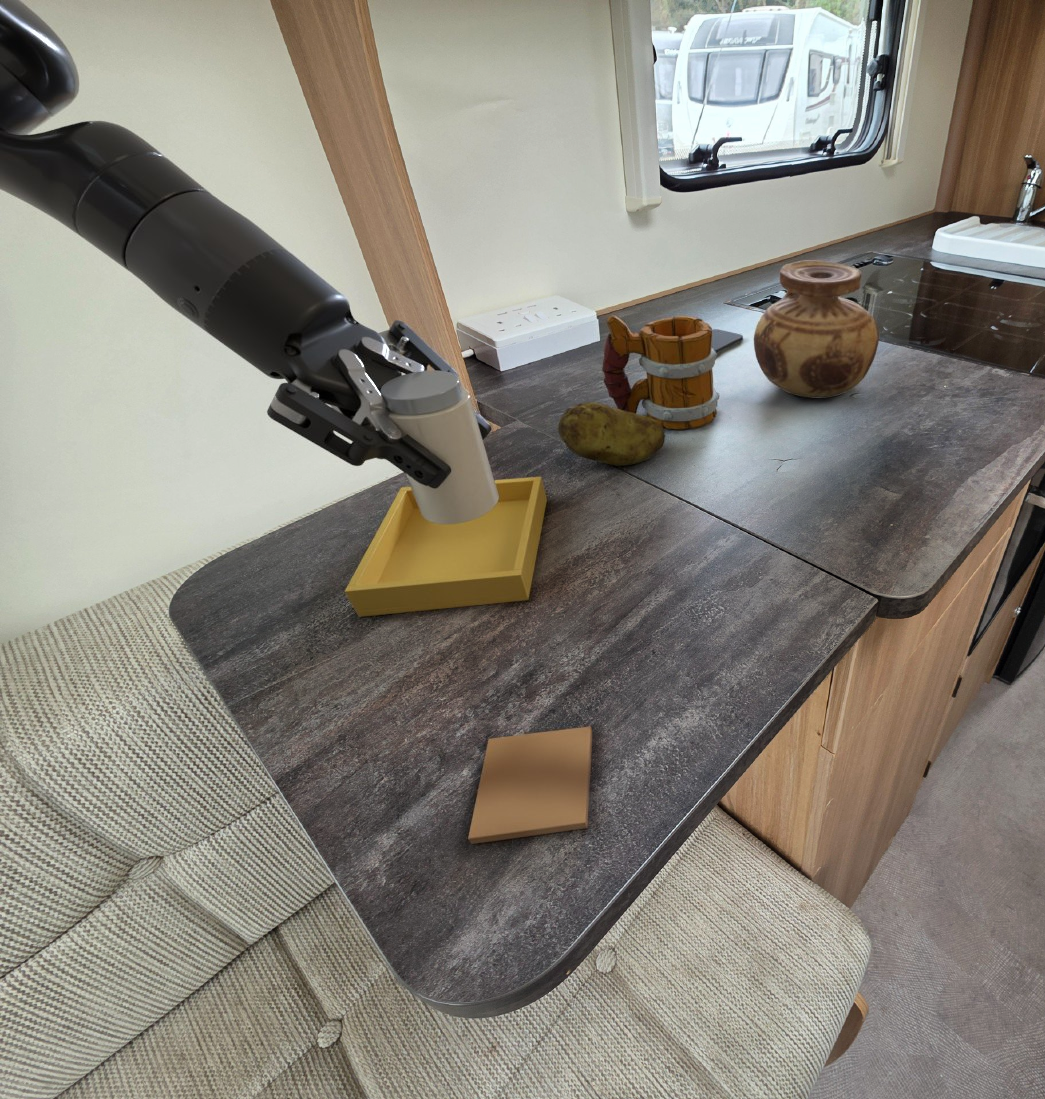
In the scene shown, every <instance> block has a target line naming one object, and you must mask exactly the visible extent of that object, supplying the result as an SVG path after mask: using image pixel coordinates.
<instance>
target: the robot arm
mask: <svg viewBox="0 0 1045 1099" xmlns="http://www.w3.org/2000/svg"><path fill="white" fill-rule="evenodd" d="M79 76H80V75H79V72H78V68H77V65H76V62H75V60H74V58H73V56H72V54H71V52H70V50H69V49H68V47H67V45H66V44H65V43H64V41H63V40H62V38H60V37H59V36H58V34H57V33H56V32H55V31H54V29H53V28H51V26H50V25H48V24H47V23H46V21H44V19H43V18H41V17H40V16H39V15H38V14H37V13H36V12H35V11H33V10H32V9H31V8H30V7H28V6H27V5H26V4H25V3H24V2H22V1H21V0H0V190H1V191H3V192H5V193H7V194H9V195H11V196H12V197H15V198H17V199H19V200H21V201H23V202H25V203H27V204H29V206H32V207H34V208H36V209H38V210H39V211H40V212H43V213H44V214H46V215H47V216H49V217H51V218H53V219H54V220H56V221H57V222H59V223H61V224H62V225H63V226H65V227H66V228H68V229H70V230H71V231H72V232H74V233H75V234H76V235H78V236H79V237H81V238H83V239H84V240H85V241H87V242H88V243H89V244H91V245H92V246H93V247H95V248H96V249H98V250H99V251H100V252H102V253H103V254H104V255H105V256H107V257H109V258H110V259H111V260H113V261H114V262H115V263H117V264H118V265H120V266H121V267H123V268H124V269H125V270H127V271H128V272H130V273H131V274H132V275H133V276H135V277H136V278H137V279H138V280H140V281H141V282H142V283H143V284H144V285H146V286H147V287H148V288H149V289H150V290H151V291H152V292H153V293H154V294H156V295H157V297H159V298H160V299H161V300H162V301H163V302H165V303H166V304H167V305H168V306H170V307H171V308H173V310H175V311H177V312H178V313H179V314H181V316H184V317H185V318H186V319H187V320H188V321H190V322H192V323H193V324H195V325H196V326H198V328H200V329H202V330H203V331H204V332H206V333H207V334H208V335H210V336H211V337H212V338H214V339H215V340H217V341H218V342H219V343H221V344H222V345H224V346H225V347H226V348H228V349H229V350H231V351H232V352H233V353H235V354H236V355H238V356H239V357H240V358H242V359H243V360H245V361H246V362H247V363H249V364H250V365H251V366H253V367H254V368H255V369H257V370H258V371H260V372H261V373H263V374H264V375H265V376H267V377H269V378H270V379H274V380H285V381H286V382H282V383H280V384H279V386H278V388H277V390H276V392H275V394H274V396H273V398H272V399H271V402H270V404H269V405H268V408H267V410H266V414H267V416H268V417H269V418H270V419H271V420H272V421H275V422H277V423H279V424H280V425H282V426H283V427H285V428H287V429H288V430H290V431H292V432H294V433H295V434H297V435H299V436H300V437H302V438H304V439H306V440H308V441H309V442H311V443H313V444H314V445H317V446H318V447H320V448H322V449H323V450H324V451H327V452H328V453H330V454H332V455H333V456H335V457H336V458H339V459H340V460H342V461H344V462H345V463H348V464H349V465H351V466H354V467H360V466H362V465H363V464H364V463H365V462H366V461H370V460H373V459H377V460H385V461H387V462H389V463H391V465H393V466H395V467H396V468H397V469H399V470H400V471H401V472H403V473H404V474H405V473H406V474H407V475H408V476H410V477H412V478H413V479H414V480H415V481H417V482H418V483H420V484H422V485H425V486H429V487H431V488H434V489H436V488H438V487H439V486H440V485H441V484H442V483H443V482H444V481H445V479H446V478H447V477H448V476H449V474H450V473H451V467H450V466H449V465H448V464H447V463H445V462H444V461H443V460H441V459H440V458H438V457H437V456H436V455H434V454H433V453H432V452H430V451H429V450H428V449H426V448H425V447H424V446H422V445H421V444H420V443H418V442H417V441H416V440H414V439H413V438H412V437H410V436H409V435H408V434H407V435H406V436H405V437H404V438H402V437H401V436H402V433H401V431H400V429H399V428H398V427H397V425H396V424H395V422H394V421H393V420H392V419H391V418H390V417H389V414H388V412H387V404H386V401H385V399H384V398H383V397H382V395H381V392H380V390H381V387H382V386H383V385H384V384H385V383H387V382H388V381H390V380H392V379H394V378H396V377H399V376H402V375H405V374H409V373H414V372H420V371H429V370H428V366H429V367H431V368H432V369H433V371H446V372H451V373H453V374H455V375H457V376H458V377H459V373H458V372H457V371H456V370H455V369H454V368H453V367H452V366H451V365H450V364H449V363H448V362H447V361H446V360H445V359H444V358H443V357H441V355H440V354H438V353H437V352H436V351H435V349H433V348H432V347H431V346H430V345H429V344H428V343H427V341H425V340H424V339H423V338H422V337H420V336H419V335H418V334H417V333H416V332H415V331H414V329H412V328H411V327H410V326H409V325H408V324H407V323H406V322H404V321H401V320H399V319H398V320H397V319H396V320H394V321H393V323H392V324H391V326H390V327H389V329H387V330H383V331H381V332H377V331H376V330H374V329H372V328H369V327H367V326H365V325H363V324H362V323H360V322H359V321H357V320H356V319H355V317H354V315H353V314H352V311H351V305H350V302H349V300H348V299H347V297H346V296H345V295H344V294H342V292H340V291H338V290H337V289H336V288H335V287H333V285H331V284H330V283H329V282H327V281H326V280H325V279H323V277H321V276H320V275H319V274H318V273H316V272H315V271H314V270H313V269H311V268H310V267H309V266H308V265H307V264H305V262H303V261H301V259H299V258H298V257H297V256H296V255H295V254H293V253H292V252H290V251H289V250H288V249H287V248H285V247H284V246H283V245H282V244H280V243H279V241H277V240H276V239H274V238H273V237H272V236H270V234H268V233H267V232H265V231H264V230H263V229H262V228H261V227H260V226H258V225H257V224H255V222H253V221H252V220H250V219H249V218H248V217H246V216H245V215H244V214H242V213H241V212H238V211H237V210H235V209H233V208H232V207H230V206H229V205H227V204H226V203H225V202H224V201H222V200H220V199H219V198H218V197H216V196H215V195H213V194H212V193H211V192H210V191H209V190H208V189H206V188H205V187H204V186H203V185H201V184H200V183H199V182H198V181H196V180H195V179H194V178H192V177H191V176H190V175H189V174H188V173H186V172H185V171H184V170H183V169H182V168H180V167H179V166H178V165H177V164H175V163H174V162H173V161H172V160H170V159H169V158H168V157H166V156H165V155H164V154H163V153H161V151H160V150H158V149H157V148H155V147H154V146H153V145H152V144H150V143H149V142H147V141H146V140H145V139H144V138H142V137H141V136H139V135H138V134H136V133H135V132H133V131H132V130H130V129H128V128H126V127H125V126H122V125H120V124H117V123H114V122H110V121H105V120H86V121H85V120H84V121H80V122H76V123H72V124H68V125H65V126H61V127H57V128H54V129H50V130H47V131H43V132H37V133H33V131H35V130H37V129H38V128H39V127H41V126H42V125H44V124H45V123H46V122H48V121H49V120H50V119H52V118H53V117H55V116H56V115H58V114H59V113H60V112H62V111H63V110H65V109H66V108H68V107H69V106H70V105H72V103H73V102H74V101H75V100H76V98H77V97H78V94H79V92H80V77H79ZM31 133H33V134H31ZM474 411H475V415H476V418H477V422H478V425H479V429H480V432H481V436H482V439H483V441H485V439H486V438H487V436H488V435H489V434H490V433H491V432H492V426H491V424H490V423H488V421H487V420H486V418H485V417H484V416H482V415H481V414H480V413H479V412H477V411H476V410H475V409H474ZM335 432H336V433H338V434H339V435H341V436H343V437H344V438H346V439H348V440H349V441H351V443H350V442H349V441H347V440H346V439H343V438H342V437H340V436H338V435H337V434H336V433H335ZM406 474H405V475H406Z"/></svg>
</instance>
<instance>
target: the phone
mask: <svg viewBox="0 0 1045 1099" xmlns="http://www.w3.org/2000/svg"><path fill="white" fill-rule="evenodd" d="M743 340H744V336H743V334H740V333H736V332H731V331H728V330H723V329H719V328H712V348H713V349H714V351H715V352H716V354H718V353H720V352H722V351H725V350H726V349H728V348H731V347H732V346H734V345H737V344H738V343H740V342H742V341H743Z"/></svg>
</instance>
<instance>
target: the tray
mask: <svg viewBox="0 0 1045 1099" xmlns="http://www.w3.org/2000/svg"><path fill="white" fill-rule="evenodd" d="M494 481H495V484H496V487H497V491H498V495H499V498H498V502H497V504H496V505H495V506H494V508H493V509H491V510H490V511H489V512H488V513H486V514H484V515H483V516H481V517H479V518H476V519H474V520H471V521H467V522H463V523H458V524H437V523H433V522H430V521H428V520H426V519H425V518H424V517H423V516H422V514H421V512H420V509H419V507H418V504H417V502H416V499H415V497H414V494H413V491H412V489H411V486H403V487H400V488H399V491H398V492H397V494H396V496H395V498H394V499H393V501H392V502H391V503H392V504H391V505H390V507H389V509H388V511H387V513H386V515H385V516H384V518H383V520H382V522H381V524H380V525H379V527H378V530H377V531H376V533H375V535H374V536H373V538H372V540H371V542H370V544H369V545H368V547H367V550H366V551H365V553H364V555H363V556H362V558H361V560H360V563H359V564H358V566H357V567H356V570H355V572H354V573H353V575H352V577H351V579H350V581H349V583H348V584H347V586H346V587H345V589H344V594H345V595H346V597H347V599H348V601H349V602H350V604H351V606H352V608H353V610H354V611H355V612H356V615H357V617H359V618H361V617H371V616H372V617H373V616H381V615H382V616H383V615H392V614H402V613H403V614H404V613H413V612H422V611H431V610H432V611H433V610H441V609H442V610H443V609H452V608H453V609H454V608H463V607H473V606H480V605H481V606H483V605H493V604H502V603H503V604H504V603H513V602H523V601H529V599H530V593H531V588H532V582H533V577H534V572H535V566H536V561H537V555H538V551H539V544H540V540H541V534H542V528H543V524H544V519H545V518H544V517H545V513H546V507H547V501H548V498H547V494H546V490H545V485H544V482H543V478H542V476H531V477H530V476H529V477H519V478H516V477H515V478H505V479H504V478H503V479H494Z"/></svg>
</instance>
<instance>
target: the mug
mask: <svg viewBox="0 0 1045 1099" xmlns="http://www.w3.org/2000/svg"><path fill="white" fill-rule="evenodd" d="M606 323H607V327H608V329H609V332H610V333H607V334H608V335H607V338H606V341H605V344H604V350H603V360H602V367H601V371H602V373H603V376H604V378H603V383H604V385H605V387H606V389H607V392H608V396H609V398H611V399H613V402H614V404H615V405H616V407H617V409H620V410H623V411H627V412H631V413H635V414H637V413H638V407H639V404H640V403H641V405H642V407H643V408H644V409H645V411H646V417H649V418H652V419H654V420H656V421H657V422H659V423H660V424H661V426H662V427H663V428H665V429H667V430H682V431H683V430H687V429H691V430H692V429H693V430H695V429H698V428H699V429H700V428H702V427H705V426H707V425H708V424H710V423H712V421H714V418H716V417H717V407H718V404H719V399H720V393H719V392H718V391H717V390H716V388H715V387H714V373H713V368H714V366H715V364H716V359H717V356H718V355H717V354H718V353H717V354H716V352H715V351H714V349H713V348H712V330H713V328H712V326H711V325H710V324H709V323H708V322H706V321H703V319H702V318H699V317H695V316H688V315H676V316H673V317H665V318H661V319H656V320H653V321H650V322H648V323H646V324H645V325H644V326H643V327H641V328H640V330H639V331H640V332H631V330H630V328H629V326H628V325H627V323H625V321H623V320H622V319H621V318H620V317H618V316H617V315H616V314H612V315H610V316H608V318H607V319H606ZM631 354H638V355H640V357H639V358H638V363H639V365H640V366H641V367H642V369H643V371H644V372H646V378H640V379H638V380H637V381H636V382H635V383H633V385H632V387H631V383H630V381H629V377H628V375H627V373H626V371H625V368H626V366H627V365H628V363H629V359H630V355H631Z"/></svg>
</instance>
